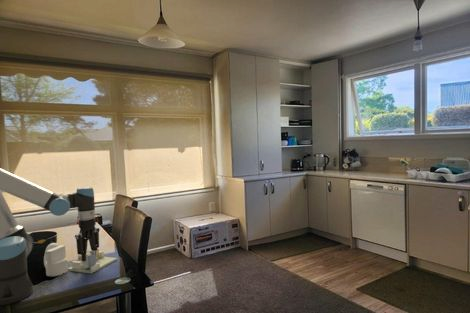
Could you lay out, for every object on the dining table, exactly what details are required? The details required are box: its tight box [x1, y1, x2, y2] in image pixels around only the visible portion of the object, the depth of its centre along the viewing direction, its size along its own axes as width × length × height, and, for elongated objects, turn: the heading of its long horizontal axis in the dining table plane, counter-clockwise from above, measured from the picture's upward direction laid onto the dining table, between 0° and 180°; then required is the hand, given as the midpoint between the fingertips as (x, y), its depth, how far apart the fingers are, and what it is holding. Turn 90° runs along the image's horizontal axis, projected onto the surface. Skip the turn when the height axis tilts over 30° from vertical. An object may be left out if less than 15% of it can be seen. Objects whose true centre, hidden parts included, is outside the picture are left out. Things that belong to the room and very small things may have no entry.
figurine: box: [43, 242, 60, 269], centre depth 156 cm, size 7×8×12 cm
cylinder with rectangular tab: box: [45, 244, 68, 277], centre depth 147 cm, size 9×9×12 cm
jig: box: [67, 250, 118, 274], centre depth 155 cm, size 18×15×4 cm
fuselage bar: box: [77, 248, 100, 263], centre depth 157 cm, size 10×4×5 cm, turn 163°
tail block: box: [84, 253, 96, 268], centre depth 148 cm, size 4×4×6 cm
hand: (89, 265), depth 148 cm, fingers closed on tail block, 4 cm apart
